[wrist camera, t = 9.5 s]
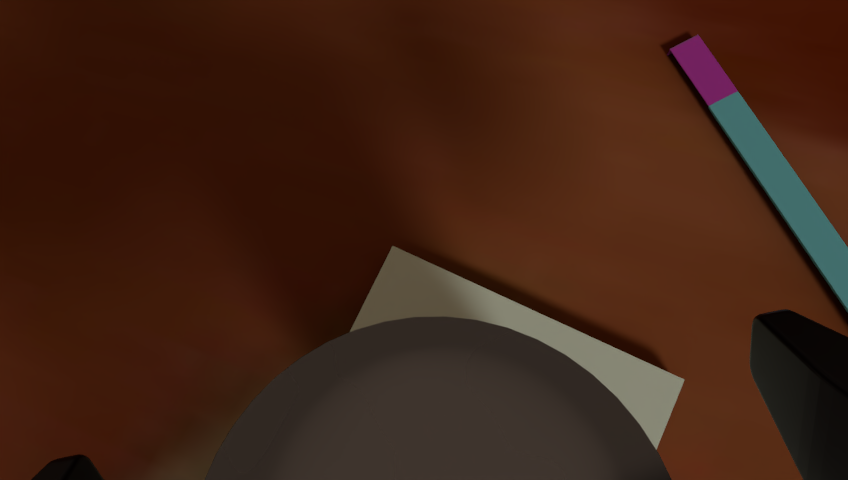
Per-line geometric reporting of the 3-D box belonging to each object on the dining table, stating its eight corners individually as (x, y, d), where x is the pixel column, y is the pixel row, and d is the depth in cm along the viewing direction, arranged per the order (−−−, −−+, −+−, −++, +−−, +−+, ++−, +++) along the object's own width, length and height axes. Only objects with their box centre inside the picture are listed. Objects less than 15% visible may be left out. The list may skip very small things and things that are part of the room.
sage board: (548, 691, 18) (552, 708, 17) (259, 529, 20) (247, 536, 19) (675, 380, 20) (684, 379, 19) (396, 252, 21) (392, 245, 20)
